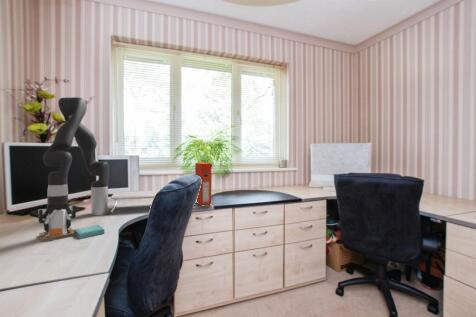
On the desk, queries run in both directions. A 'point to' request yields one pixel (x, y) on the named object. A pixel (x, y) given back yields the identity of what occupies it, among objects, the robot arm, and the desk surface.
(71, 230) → the wooden square frame
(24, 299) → the desk surface
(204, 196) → the file binder
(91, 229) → the tile
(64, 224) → the skincare box
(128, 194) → the monitor stand
